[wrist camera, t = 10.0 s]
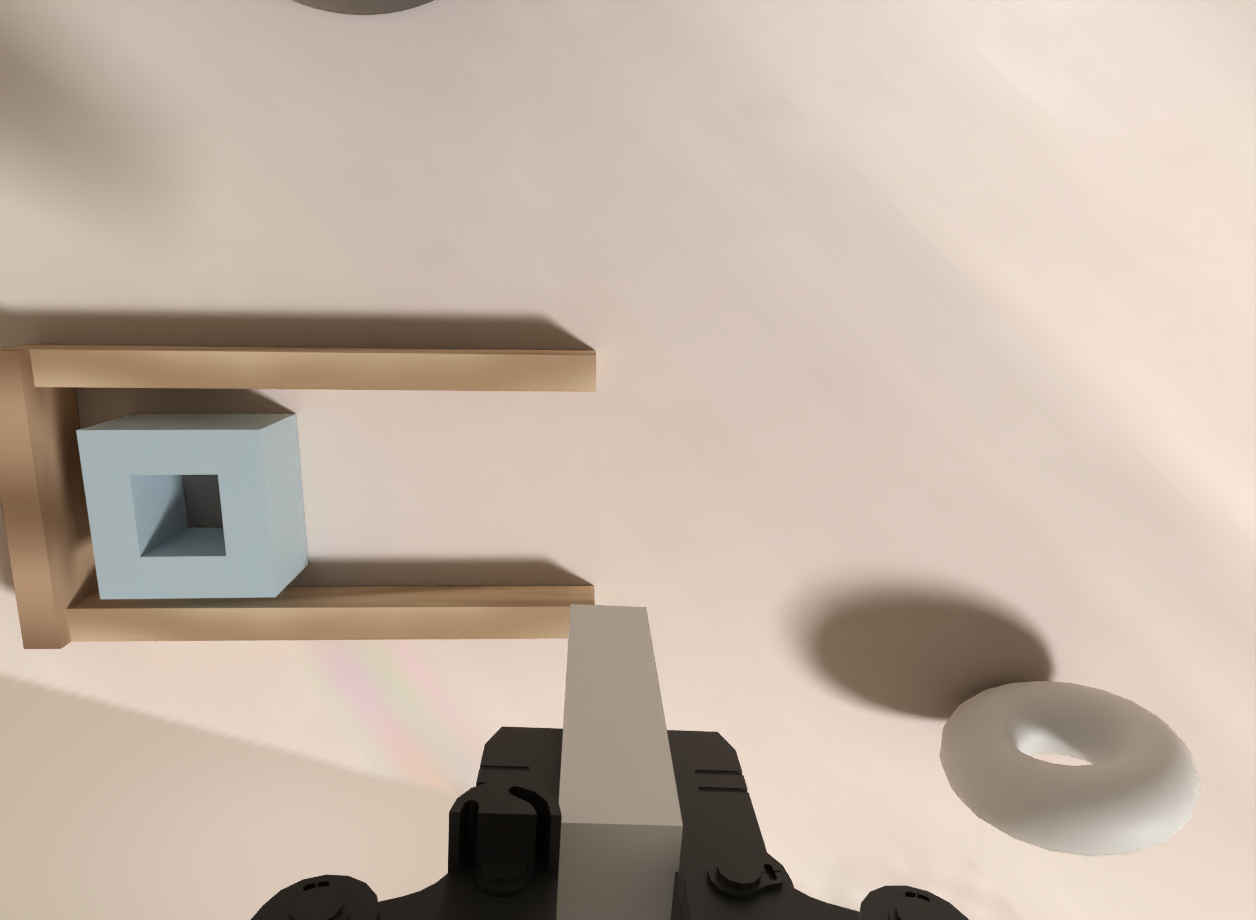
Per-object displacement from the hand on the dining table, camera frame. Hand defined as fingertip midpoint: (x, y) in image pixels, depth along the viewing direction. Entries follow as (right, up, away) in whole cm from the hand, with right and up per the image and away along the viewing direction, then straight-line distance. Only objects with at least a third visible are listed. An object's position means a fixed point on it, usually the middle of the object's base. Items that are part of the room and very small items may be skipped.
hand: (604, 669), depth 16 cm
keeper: (-18, +3, +20) cm, 27 cm away
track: (-13, +3, +20) cm, 24 cm away
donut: (+19, -8, +24) cm, 32 cm away
